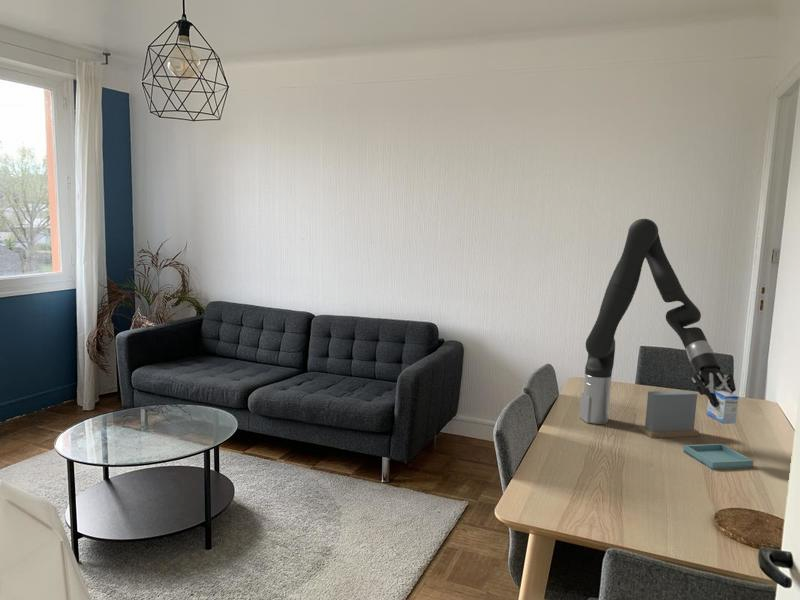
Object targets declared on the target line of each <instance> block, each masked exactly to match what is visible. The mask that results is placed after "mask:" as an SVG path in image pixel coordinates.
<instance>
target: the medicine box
mask: <svg viewBox="0 0 800 600" xmlns="http://www.w3.org/2000/svg"><path fill="white" fill-rule="evenodd" d="M713 391H714V393H715V395H716V397H717V400H718V402H719V405H718V406H717V407H713V405H711V403H710V401H709V399H708V400H707V401H708V402H707V408H706V409H707V411H706V415H707V417H709V418H712V419H713V420H715V421H717V422H719V423H721V424H722V425H725V424H726V425H729V424H730V425H732V424H736V423H737V415H738V406H739V396H737V395H736V394H733V393H732V394H731V393H729V392H727V391H726V390H725V389H724V390H723V389H717V388H713ZM714 393H713V394H714Z"/></svg>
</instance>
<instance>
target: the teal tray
mask: <svg viewBox="0 0 800 600" xmlns="http://www.w3.org/2000/svg"><path fill="white" fill-rule="evenodd" d="M682 452H683V453H685V454H686V455H688V456H689V457H691V458H693V459H694V460H696V461H697V462H699V463H701V464H703V465H704V466H705V467H706V468H708V469H710V470H712V471H713V470H731V469H733V470H734V469H752V468H753V466H754V460H753V459H751V458H750V457H748V456H746V455H744V454H742V453H740V452H738V451H737V450H734V449H732V448H731V447H729V446H727V445H725V444H723V443H708V444H707V443H706V444H705V443H704V444H685V445H683V450H682Z"/></svg>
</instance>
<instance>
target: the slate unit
mask: <svg viewBox="0 0 800 600" xmlns="http://www.w3.org/2000/svg"><path fill="white" fill-rule="evenodd" d="M697 400H698V393H696V392H694V391H692V390H663V391H662V390H659V391H651V390H650V391H648V392H647V399H646V401H647V403H646V413H645V422H644V425H639V431H640V432H641V433H644V434H645V435H647V436H648V437H649V438H672V437H673V438H675V437H677V438H678V437H698V436H700V431H699V430H697V429H695V421H696V413H697V412H696V410H697V402H698V401H697Z"/></svg>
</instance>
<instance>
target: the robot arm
mask: <svg viewBox="0 0 800 600" xmlns="http://www.w3.org/2000/svg"><path fill="white" fill-rule="evenodd" d="M620 256H621V257H619V261H618V262H617V264H616V266H615V268H614V270H613V272H612V274H611V277H610V279H609V282H608V284H607V287H606V289H605V292H604V296H603V299H602V301H601V305H600V308H599V313H598V315H597V318H596V321H595V323H594V325H593V327H592V329H591V331H590V333H589V334H588V336H587V338H586V341H585V350H586V352H587V361H586V363H585V368H584V379H583V380H584V382H583V392H581V393H580V394H581V395H580V407H579V418H580V419H581V420H582V421H584V422H585V423H586V424H594V425H595V424H597V425H603V424H607V423H608V422H609V412H610V399H611V387H612V374H613V370H614V365H615V364H614V363H615V355H616V340H615V335H616V332H617V329H618V326H619V324H620V322H621V321H622V319H623V317H624V315H625V314H626V312H627V310H628V308H629V307H630V305H631V303H632V300H633V298H634V296H635V294H636V290H637V289H638V285H639V282H640V278H641V273H642V270H643V269H642V268H643V264H644V261H645V260H646V262H647V264H648V266H649V269H650V272H651V275H652V278H653V281H654V283H655V285H656V288H657V290H658V291H659V294H660V296H661V298H662V300H663V301H664V302H665V303H674V302H680V303H682V305H679V306H676V307H675V308H671V309H669V310H667V312H666V314H665V321H666V322H667V324H668V325H669V327H671V329H672V330H674V332H675V333H676V334H677V336H678V337H679V338H680V340H681V342H682V344H683V346H684V350H685V351H686V354H687V357H688V361H689V362H690V365H691V366H692V369H693V371H694V373H695V374H694V375H693V376H692V377H691V378H690V382H691V383H692V386H694V387H695V389H696V390H697V392H698V393H699V394H700V395H701V396H703V395H704V396H706V397H707V398H708V400H709V401H710V403H711V405H713V407H717V406H718V405H719V402H718V400H717V397H716V395H715V393H714V391H713V389H714V388H715V389H723V390H725V391H727V392H729V393H731V394H733V393H734V392H736V390H737V389H736V384H735V379H734V375H733V374H731V373H730V374H724V373H723V372H722V370H721V365H720V363H719V360H718V359H717V356H716V355H715V352H714V350H713V348H712V347H711V345H710V343H709V342H708V339H707V337H706V335H705V333H704V331H703V330H702V329H701V328H700V327H697V326H695V327H688V326H691V325H693V324H697V323H698V322H700V321H701V317H702V314H701V311H700V309H699V307H697V305H695V304H694V302H693V301H692V300H691V299H690V298H689V297H688V295H687V294H686V292H685V290H684V289H683V286H682V285H681V283H680V280H679V279H678V276H677V274H676V272H675V271H674V269H673V267H672V265H671V263H670V260H669V259H668V257H667V255H666V253H665V250H664V247H663V246H662V242H661V238H660V234H659V228H658V225H657V224H656V223H655V222H654V221H653V220H652V219H650V218H640V219H639V218H638V219H637V220H635V221H633V222H632V223H631V224H630V226H629V228H628V232H627V237H626V240H625V244H624V247H623V251H622V253H621V255H620ZM713 393H714V394H713Z"/></svg>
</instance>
